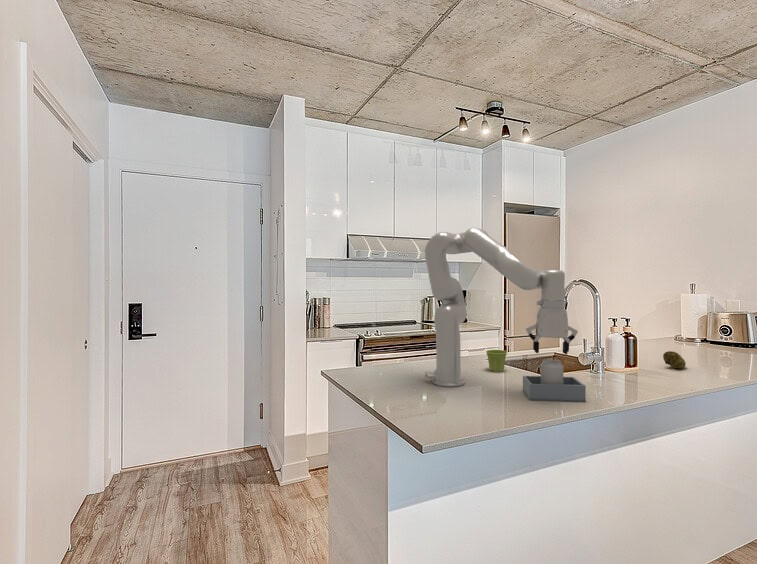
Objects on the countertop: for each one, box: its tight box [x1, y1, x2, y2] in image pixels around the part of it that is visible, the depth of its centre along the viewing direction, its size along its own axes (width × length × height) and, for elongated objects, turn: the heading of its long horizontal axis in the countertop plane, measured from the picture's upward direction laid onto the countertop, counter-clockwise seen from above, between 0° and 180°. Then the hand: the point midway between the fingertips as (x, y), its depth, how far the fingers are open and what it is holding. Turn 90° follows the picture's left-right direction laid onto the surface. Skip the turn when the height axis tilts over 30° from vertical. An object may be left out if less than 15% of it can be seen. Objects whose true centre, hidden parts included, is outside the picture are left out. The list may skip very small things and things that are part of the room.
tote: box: [522, 375, 587, 403], centre depth 148 cm, size 18×12×6 cm, turn 82°
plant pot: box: [485, 349, 508, 373], centre depth 187 cm, size 9×9×9 cm
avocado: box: [662, 350, 687, 370], centre depth 188 cm, size 8×13×8 cm, turn 108°
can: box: [540, 358, 564, 385], centre depth 148 cm, size 8×8×12 cm
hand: (550, 352), depth 148 cm, fingers open, 9 cm apart
